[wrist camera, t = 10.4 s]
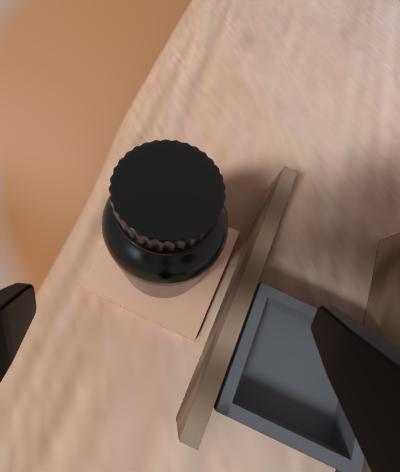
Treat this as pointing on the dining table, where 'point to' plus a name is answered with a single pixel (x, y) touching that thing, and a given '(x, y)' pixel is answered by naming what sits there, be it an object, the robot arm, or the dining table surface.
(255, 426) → the box
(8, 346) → the robot arm
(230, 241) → the tile
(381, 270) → the walled lane
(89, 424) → the dining table surface
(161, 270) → the supplement bottle
